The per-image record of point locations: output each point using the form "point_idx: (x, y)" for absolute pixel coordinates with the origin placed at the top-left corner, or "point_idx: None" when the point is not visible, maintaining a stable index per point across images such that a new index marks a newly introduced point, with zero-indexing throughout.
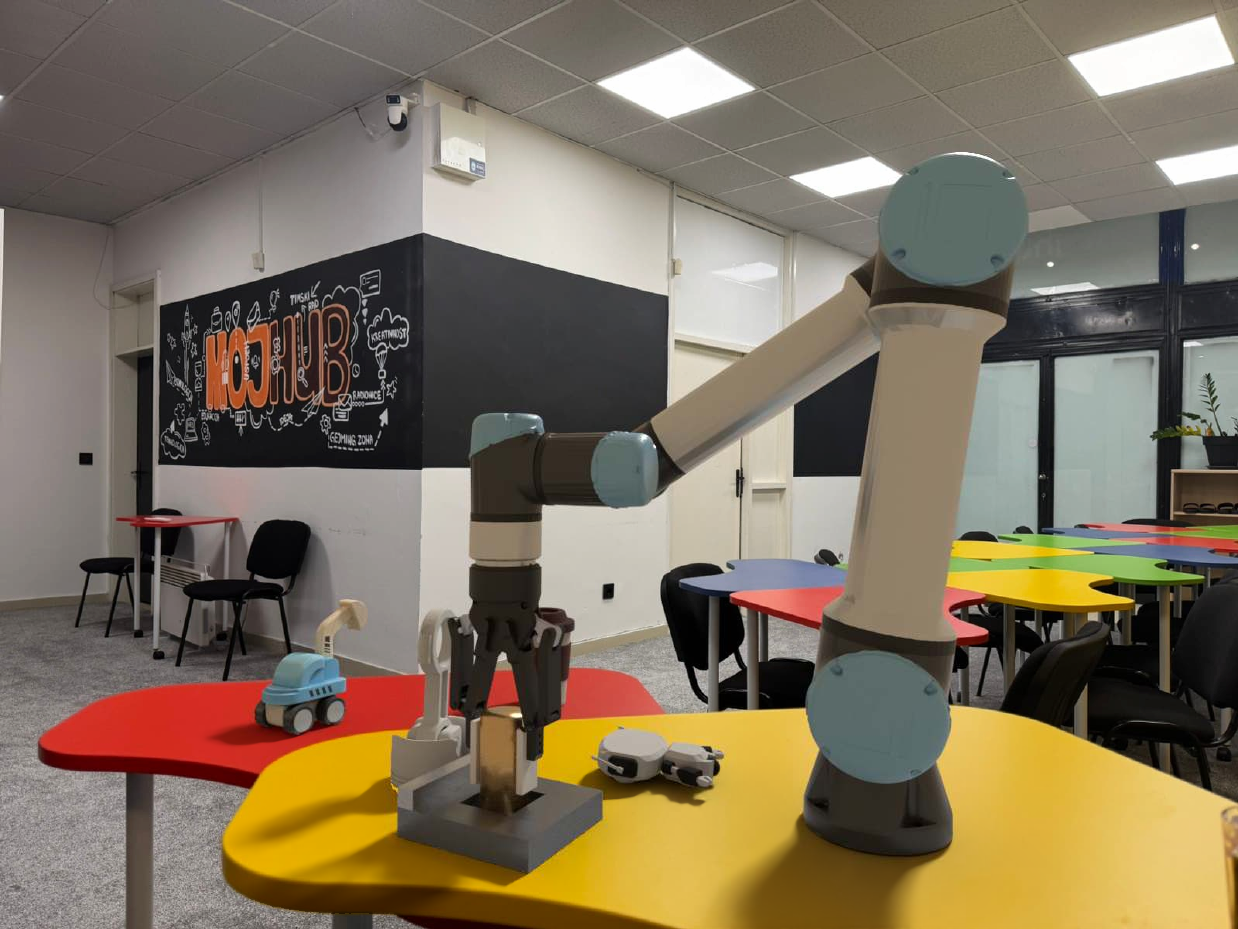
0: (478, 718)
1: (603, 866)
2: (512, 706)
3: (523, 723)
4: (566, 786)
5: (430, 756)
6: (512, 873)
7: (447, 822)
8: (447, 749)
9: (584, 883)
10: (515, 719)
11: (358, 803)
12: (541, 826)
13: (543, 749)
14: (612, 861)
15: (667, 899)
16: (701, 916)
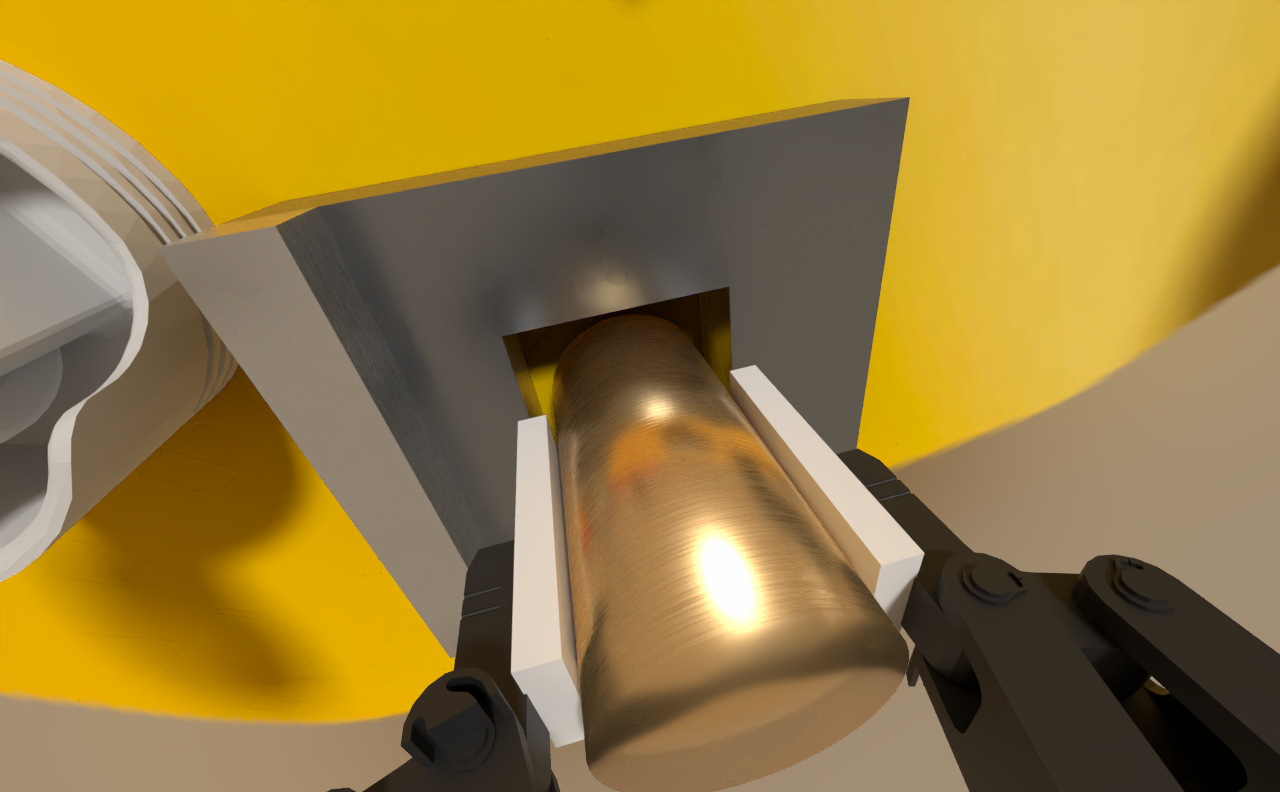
0: (548, 718)
1: (934, 337)
2: (704, 652)
3: (922, 677)
4: (756, 168)
5: (122, 476)
6: None
7: None
8: (118, 431)
9: (919, 407)
10: (876, 705)
11: (152, 535)
12: (841, 444)
13: (890, 471)
14: (946, 307)
15: (1073, 350)
16: (1130, 354)
